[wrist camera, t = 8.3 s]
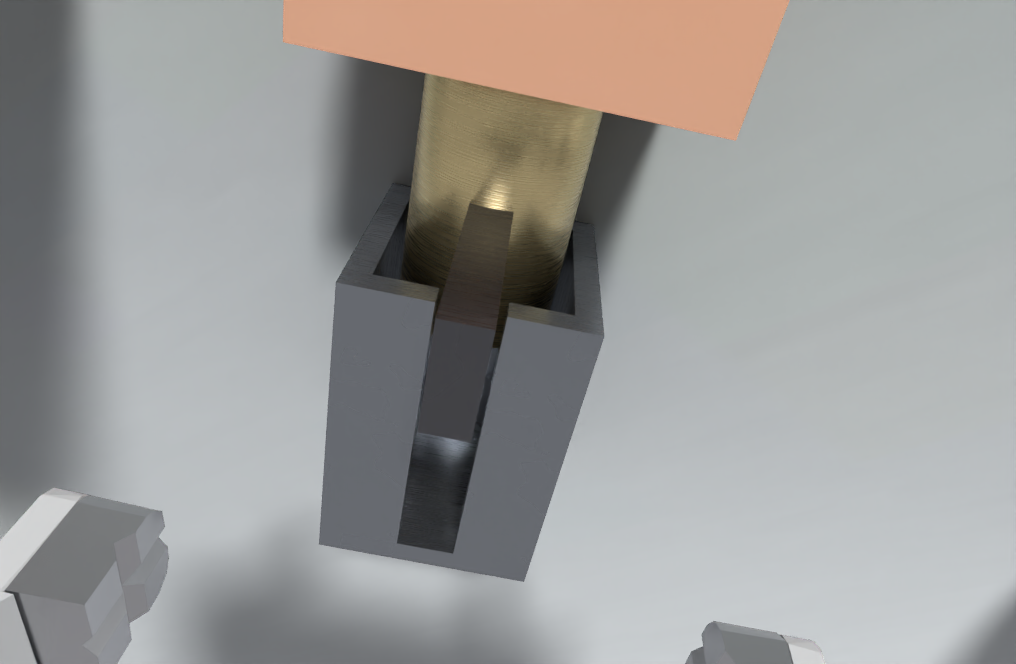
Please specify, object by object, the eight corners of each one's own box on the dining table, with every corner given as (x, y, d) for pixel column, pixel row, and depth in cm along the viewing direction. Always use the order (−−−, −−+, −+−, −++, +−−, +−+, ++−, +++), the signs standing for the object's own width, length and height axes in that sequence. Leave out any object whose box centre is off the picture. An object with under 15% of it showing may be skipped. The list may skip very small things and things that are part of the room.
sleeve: (594, 225, 25) (604, 336, 19) (531, 442, 31) (523, 581, 25) (392, 183, 25) (335, 282, 18) (368, 410, 31) (319, 544, 24)
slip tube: (647, -100, 19) (729, -88, 9) (548, 281, 25) (540, 505, 16) (465, -143, 18) (371, -173, 9) (413, 254, 25) (327, 465, 16)
